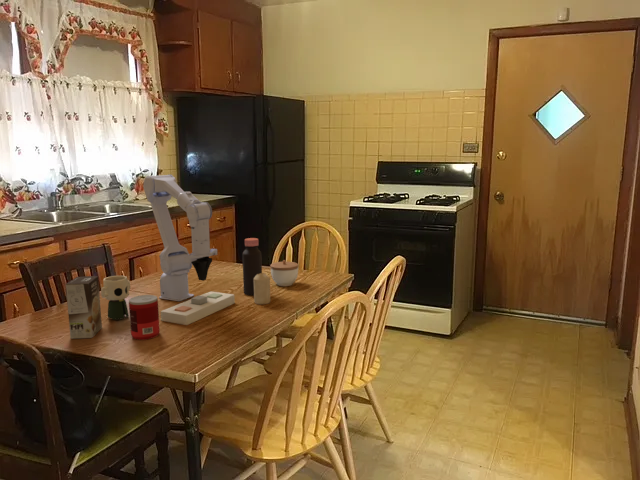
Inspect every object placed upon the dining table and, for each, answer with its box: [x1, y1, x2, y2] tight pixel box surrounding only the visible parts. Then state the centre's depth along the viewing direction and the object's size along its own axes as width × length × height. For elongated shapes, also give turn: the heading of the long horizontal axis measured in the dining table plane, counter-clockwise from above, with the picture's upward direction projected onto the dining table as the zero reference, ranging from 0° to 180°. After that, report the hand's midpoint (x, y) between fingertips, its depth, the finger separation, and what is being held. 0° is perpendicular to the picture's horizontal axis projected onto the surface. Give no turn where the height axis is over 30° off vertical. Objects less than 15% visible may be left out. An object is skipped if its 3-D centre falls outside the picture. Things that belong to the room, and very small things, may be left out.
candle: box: [253, 272, 271, 305], centre depth 191 cm, size 6×6×10 cm
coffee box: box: [65, 275, 103, 339], centre depth 161 cm, size 9×6×16 cm
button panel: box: [160, 291, 236, 326], centre depth 182 cm, size 10×25×3 cm, turn 153°
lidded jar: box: [269, 259, 299, 287], centre depth 214 cm, size 11×11×9 cm
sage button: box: [207, 293, 222, 299], centre depth 189 cm, size 4×4×3 cm
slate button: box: [190, 295, 207, 305], centre depth 181 cm, size 4×4×3 cm
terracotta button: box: [175, 306, 191, 312], centre depth 175 cm, size 4×4×3 cm
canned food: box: [128, 294, 161, 341], centre depth 159 cm, size 8×8×11 cm
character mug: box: [100, 275, 131, 320], centre depth 175 cm, size 11×7×13 cm, turn 150°
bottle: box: [242, 237, 263, 297], centre depth 201 cm, size 7×7×20 cm
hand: (202, 279), depth 185 cm, fingers closed
